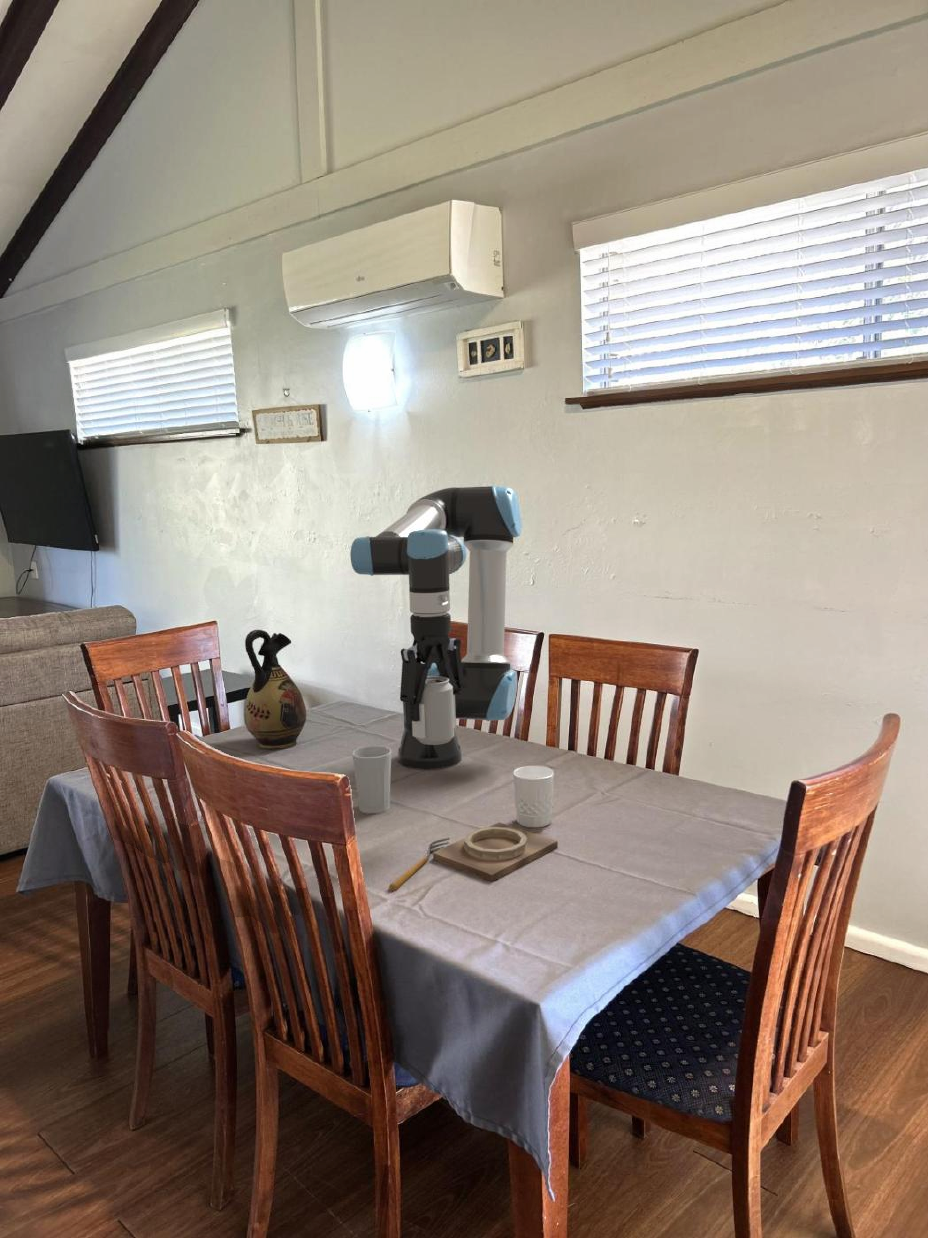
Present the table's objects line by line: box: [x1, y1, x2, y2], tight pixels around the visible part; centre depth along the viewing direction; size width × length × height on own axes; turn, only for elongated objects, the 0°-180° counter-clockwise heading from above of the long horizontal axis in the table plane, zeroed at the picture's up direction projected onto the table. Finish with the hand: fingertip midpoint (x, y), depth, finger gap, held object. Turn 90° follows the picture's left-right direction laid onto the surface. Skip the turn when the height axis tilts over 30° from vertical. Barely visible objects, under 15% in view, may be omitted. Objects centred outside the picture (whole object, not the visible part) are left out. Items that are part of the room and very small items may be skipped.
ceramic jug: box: [243, 629, 307, 749], centre depth 233 cm, size 17×15×30 cm
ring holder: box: [432, 821, 559, 882], centre depth 166 cm, size 18×14×3 cm
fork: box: [388, 837, 450, 892], centre depth 162 cm, size 2×2×20 cm
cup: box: [351, 745, 392, 814], centre depth 189 cm, size 8×8×12 cm
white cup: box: [512, 765, 555, 828], centre depth 180 cm, size 8×8×10 cm
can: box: [414, 676, 455, 745], centre depth 175 cm, size 8×8×12 cm
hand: (434, 731), depth 175 cm, fingers closed on can, 7 cm apart
